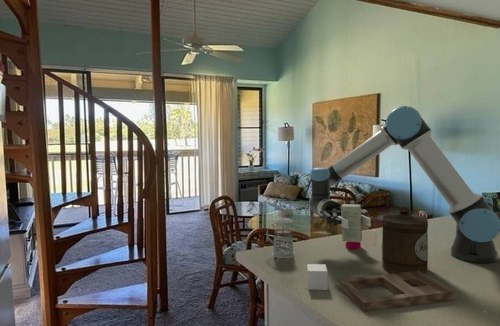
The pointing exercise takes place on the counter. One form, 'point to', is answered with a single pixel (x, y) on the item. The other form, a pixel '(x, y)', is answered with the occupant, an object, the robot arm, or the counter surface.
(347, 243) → the pepper mill
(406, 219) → the wooden container
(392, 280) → the walnut plate
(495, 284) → the counter surface
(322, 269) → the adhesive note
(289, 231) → the french press
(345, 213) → the skincare box
